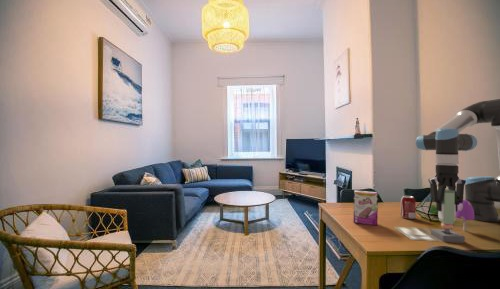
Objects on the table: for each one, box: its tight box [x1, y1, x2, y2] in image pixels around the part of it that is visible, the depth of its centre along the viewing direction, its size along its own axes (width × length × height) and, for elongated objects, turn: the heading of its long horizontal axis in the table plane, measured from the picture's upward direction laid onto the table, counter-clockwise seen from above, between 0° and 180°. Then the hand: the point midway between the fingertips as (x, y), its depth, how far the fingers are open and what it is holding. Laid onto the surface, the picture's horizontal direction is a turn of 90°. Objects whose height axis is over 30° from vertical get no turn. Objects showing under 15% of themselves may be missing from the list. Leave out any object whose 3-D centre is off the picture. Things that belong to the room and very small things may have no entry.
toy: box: [456, 199, 475, 232], centre depth 108 cm, size 7×7×15 cm
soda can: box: [400, 195, 417, 220], centre depth 129 cm, size 7×7×12 cm
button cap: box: [440, 222, 454, 234], centre depth 99 cm, size 4×4×4 cm
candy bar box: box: [353, 189, 379, 227], centre depth 120 cm, size 11×5×16 cm, turn 65°
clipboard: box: [392, 226, 459, 244], centre depth 104 cm, size 20×16×1 cm
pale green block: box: [438, 188, 456, 225], centre depth 99 cm, size 4×4×14 cm
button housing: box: [430, 228, 466, 244], centre depth 99 cm, size 8×8×2 cm
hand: (446, 218), depth 99 cm, fingers closed on pale green block, 4 cm apart
